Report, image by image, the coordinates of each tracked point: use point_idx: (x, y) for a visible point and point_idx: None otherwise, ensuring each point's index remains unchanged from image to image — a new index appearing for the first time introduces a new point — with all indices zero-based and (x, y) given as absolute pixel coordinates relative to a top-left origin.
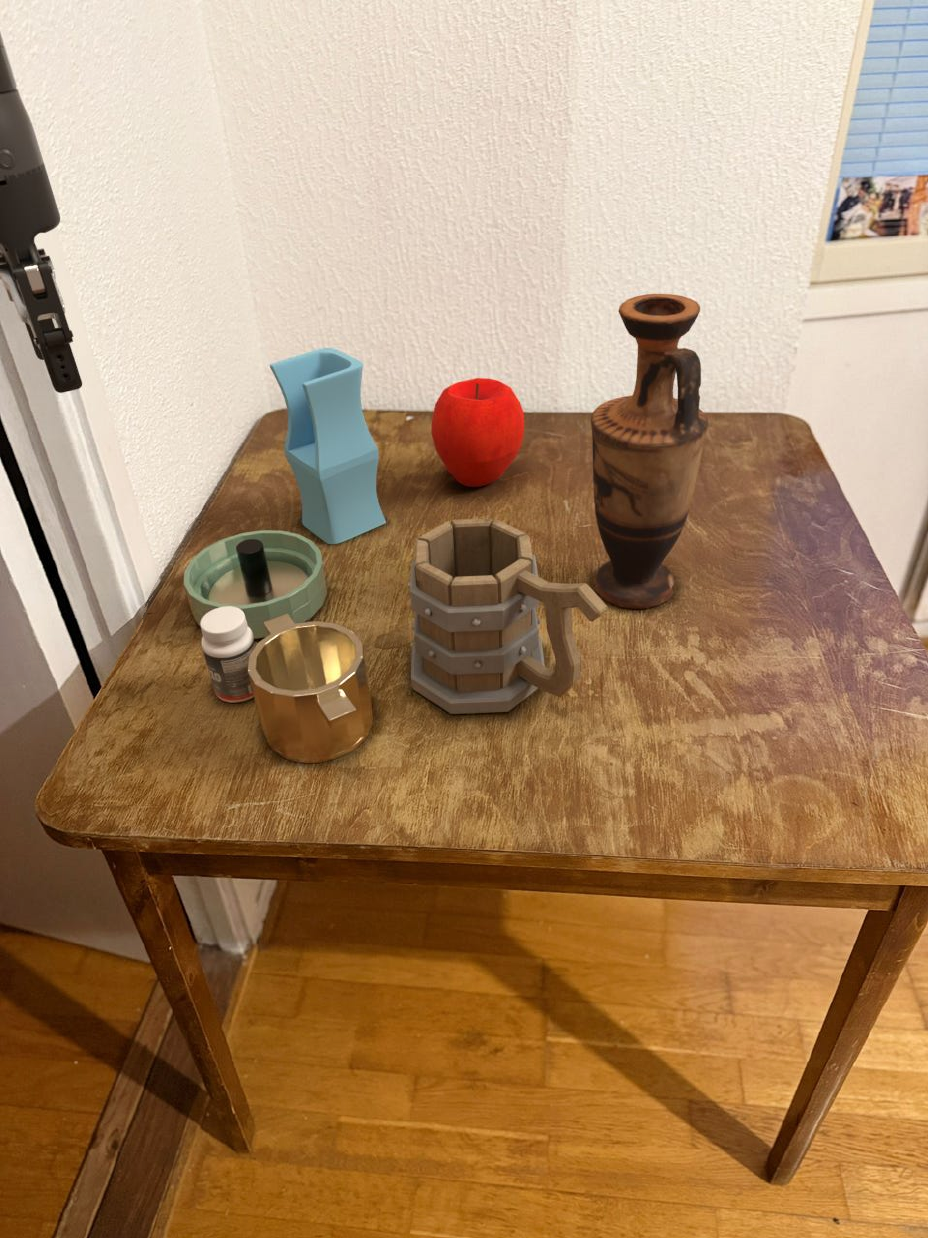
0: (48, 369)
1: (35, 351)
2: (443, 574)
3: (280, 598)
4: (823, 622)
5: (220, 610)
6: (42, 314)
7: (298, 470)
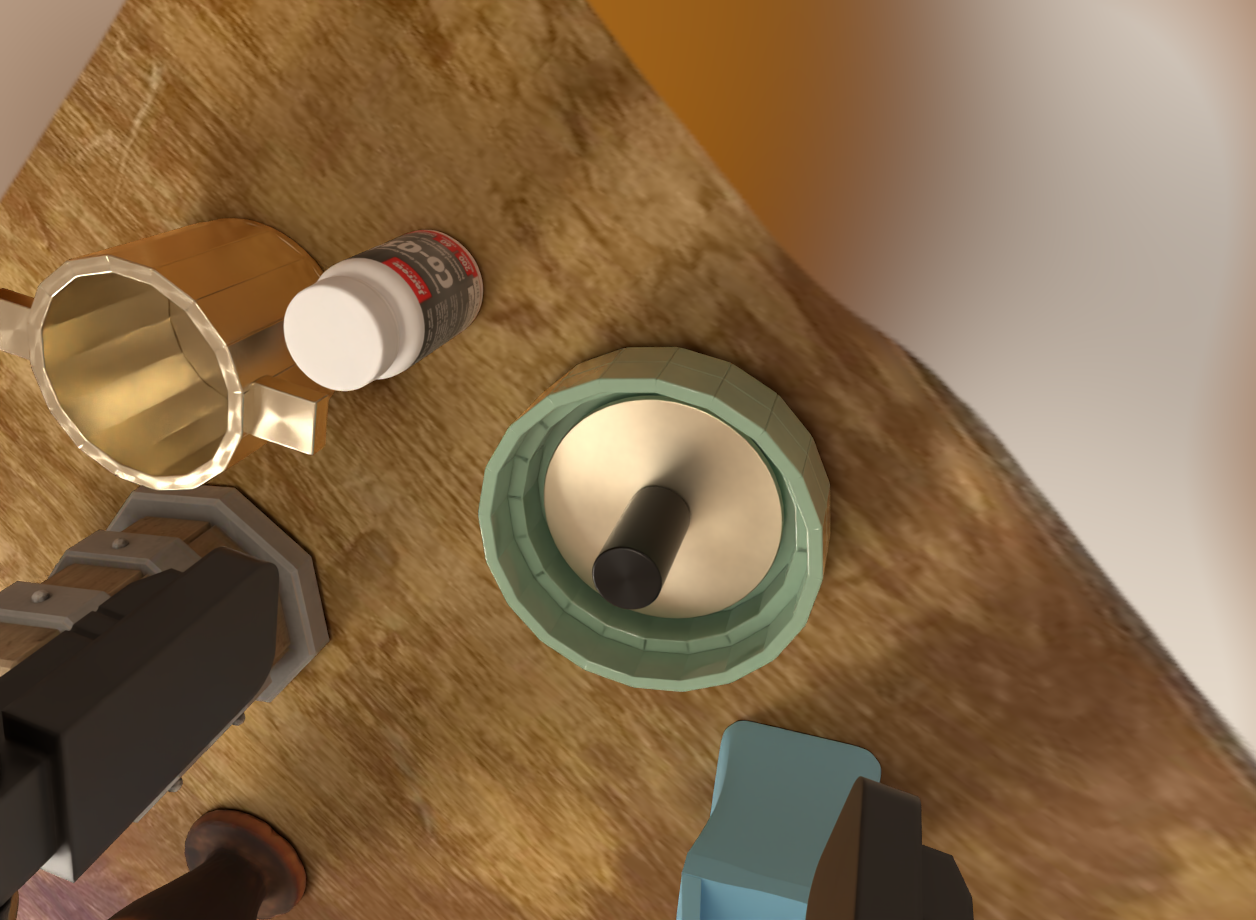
0: (118, 622)
1: (864, 812)
2: None
3: (485, 500)
4: (61, 891)
5: (365, 357)
6: None
7: None
